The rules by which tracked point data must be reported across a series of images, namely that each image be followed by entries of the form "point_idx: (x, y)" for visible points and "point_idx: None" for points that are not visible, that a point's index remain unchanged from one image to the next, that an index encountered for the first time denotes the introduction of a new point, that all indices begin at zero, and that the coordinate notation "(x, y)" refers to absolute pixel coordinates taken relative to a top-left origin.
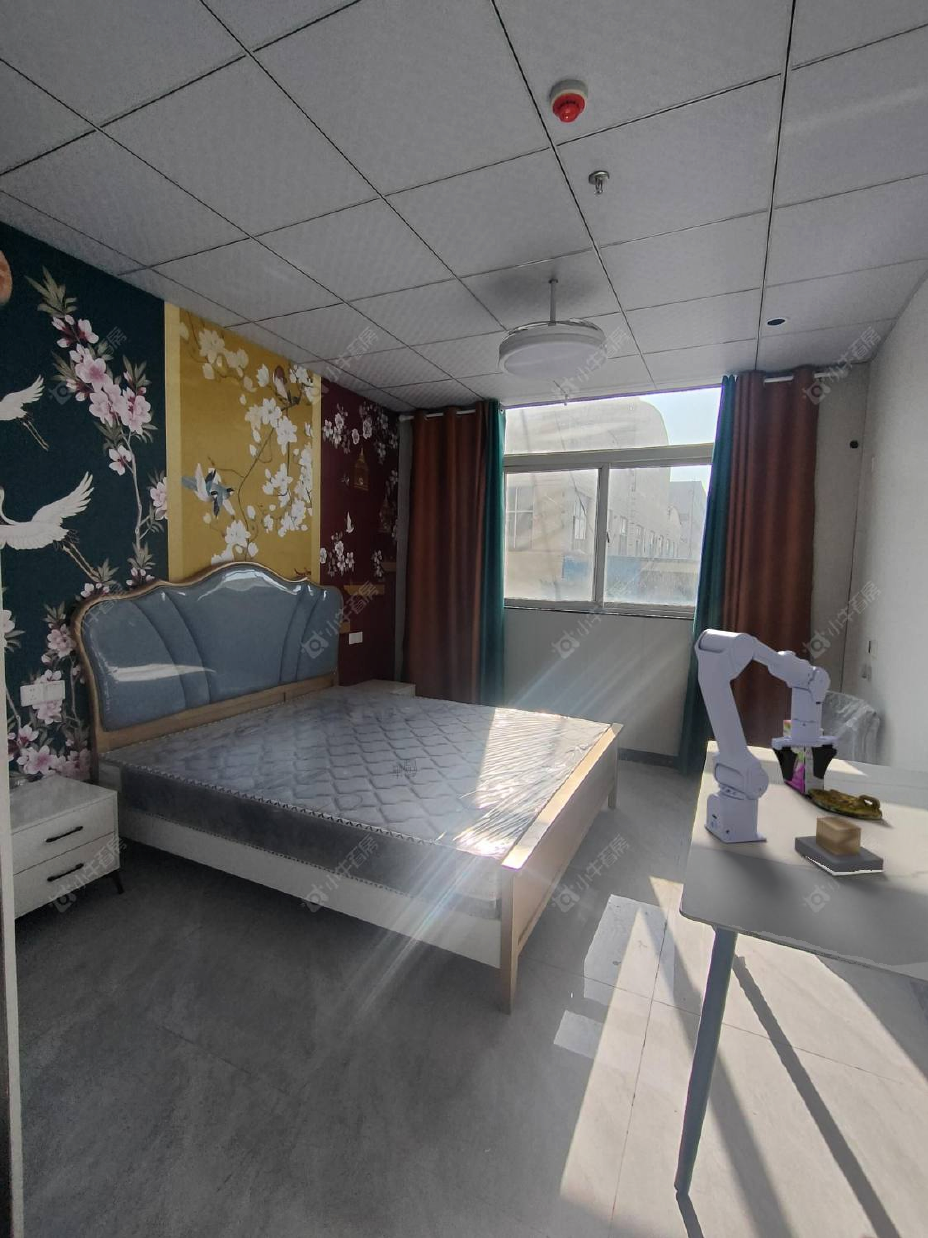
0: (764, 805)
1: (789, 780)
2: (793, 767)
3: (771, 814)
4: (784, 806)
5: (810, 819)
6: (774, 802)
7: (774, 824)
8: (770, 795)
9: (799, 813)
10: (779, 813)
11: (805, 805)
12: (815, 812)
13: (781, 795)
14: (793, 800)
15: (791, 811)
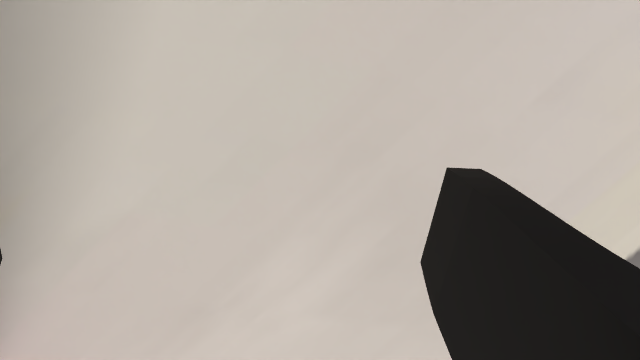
0: (300, 240)
1: (487, 173)
2: (577, 278)
3: (363, 132)
4: (183, 211)
5: (150, 10)
6: (205, 264)
7: (474, 2)
8: (156, 338)
9: (159, 109)
10: (299, 135)
11: (21, 202)
12: (22, 100)
13: (86, 331)
14: (55, 271)
15: (193, 145)
